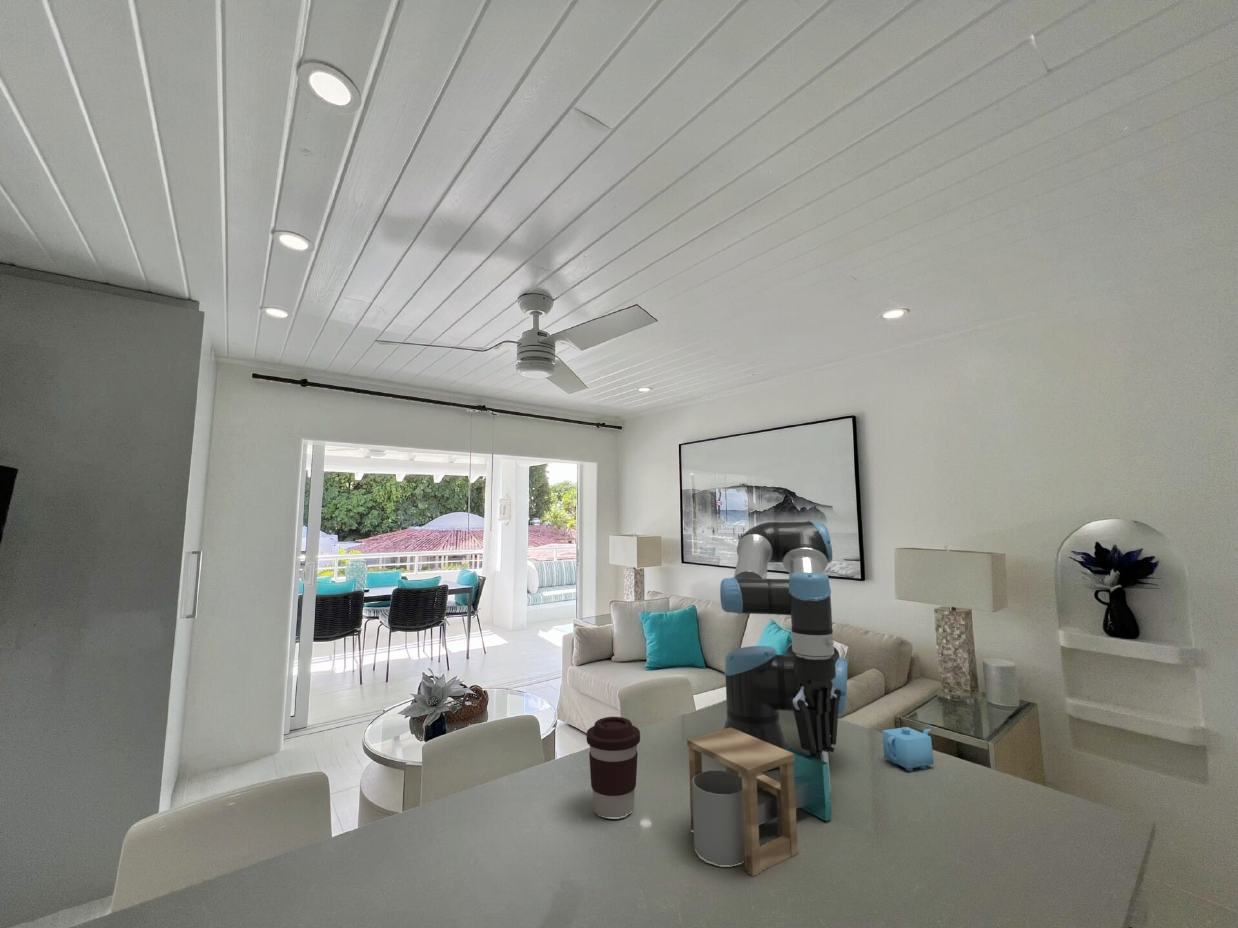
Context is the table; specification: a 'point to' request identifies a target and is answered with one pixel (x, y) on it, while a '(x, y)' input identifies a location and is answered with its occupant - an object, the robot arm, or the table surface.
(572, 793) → the table surface
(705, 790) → the cup
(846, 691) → the robot arm
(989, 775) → the table surface
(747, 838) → the wooden stool
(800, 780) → the grey and teal block
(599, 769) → the coffee cup
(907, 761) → the teapot
